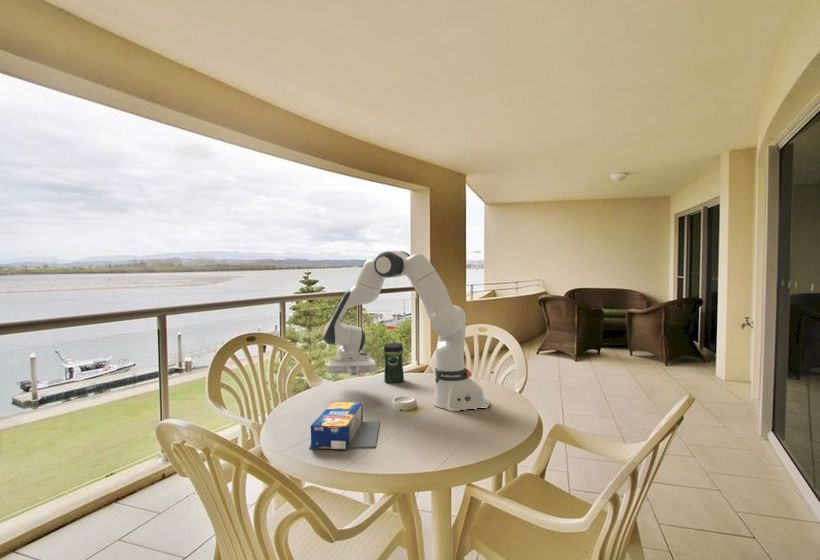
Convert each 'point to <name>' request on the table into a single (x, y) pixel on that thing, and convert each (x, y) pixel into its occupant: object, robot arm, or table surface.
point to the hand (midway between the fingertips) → (354, 373)
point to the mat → (364, 436)
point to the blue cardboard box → (336, 425)
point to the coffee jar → (393, 363)
